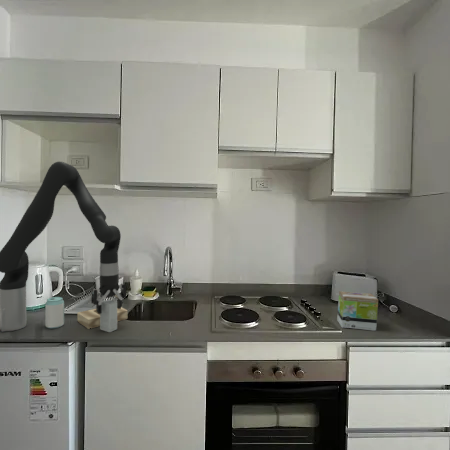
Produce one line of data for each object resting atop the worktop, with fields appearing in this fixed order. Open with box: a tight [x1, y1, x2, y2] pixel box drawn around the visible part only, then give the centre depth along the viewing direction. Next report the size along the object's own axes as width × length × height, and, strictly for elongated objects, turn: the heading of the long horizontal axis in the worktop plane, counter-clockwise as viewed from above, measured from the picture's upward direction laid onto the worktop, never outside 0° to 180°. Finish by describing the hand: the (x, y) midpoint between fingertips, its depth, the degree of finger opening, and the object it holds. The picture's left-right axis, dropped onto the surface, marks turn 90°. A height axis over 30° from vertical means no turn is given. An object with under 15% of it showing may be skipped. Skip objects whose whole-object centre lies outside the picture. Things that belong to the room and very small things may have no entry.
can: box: [44, 296, 65, 329], centre depth 131 cm, size 7×7×12 cm
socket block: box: [76, 306, 129, 330], centre depth 140 cm, size 18×12×4 cm, turn 136°
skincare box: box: [99, 299, 118, 333], centre depth 129 cm, size 6×4×12 cm
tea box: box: [336, 290, 379, 332], centre depth 141 cm, size 15×10×15 cm, turn 82°
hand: (109, 310), depth 129 cm, fingers open, 8 cm apart
